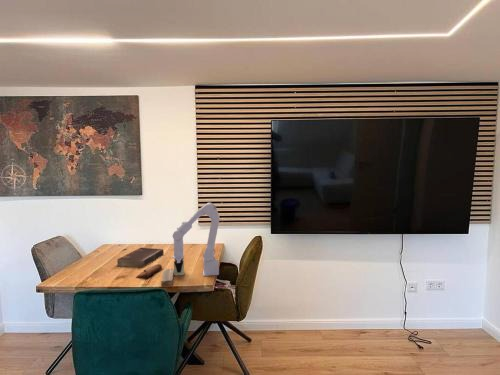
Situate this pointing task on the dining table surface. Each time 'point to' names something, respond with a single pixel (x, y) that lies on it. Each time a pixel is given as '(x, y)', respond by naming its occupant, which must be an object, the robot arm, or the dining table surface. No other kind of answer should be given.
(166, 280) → the tan rectangular bar
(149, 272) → the sunglasses case
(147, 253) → the hardback book
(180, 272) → the block
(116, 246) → the dining table surface
